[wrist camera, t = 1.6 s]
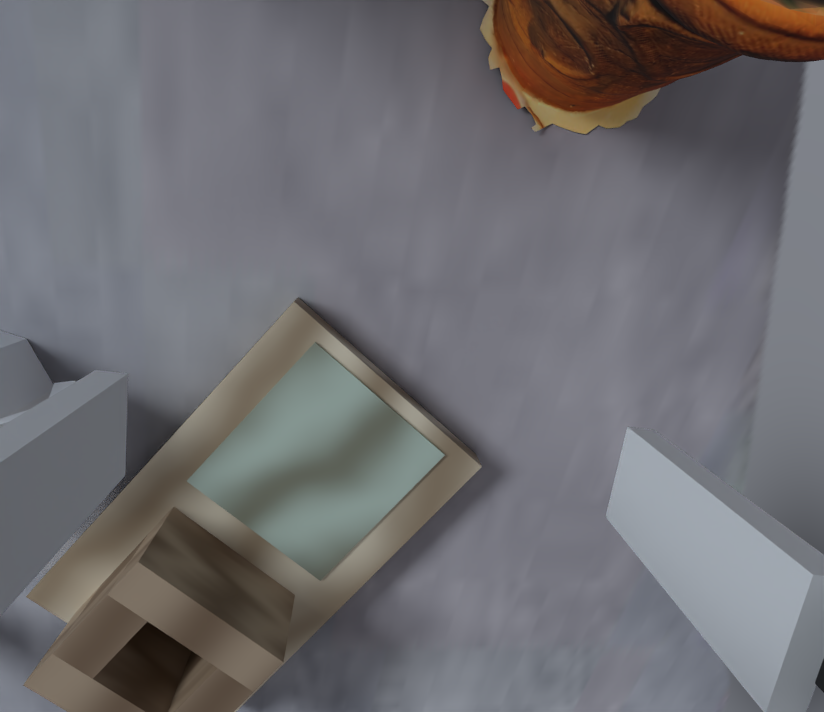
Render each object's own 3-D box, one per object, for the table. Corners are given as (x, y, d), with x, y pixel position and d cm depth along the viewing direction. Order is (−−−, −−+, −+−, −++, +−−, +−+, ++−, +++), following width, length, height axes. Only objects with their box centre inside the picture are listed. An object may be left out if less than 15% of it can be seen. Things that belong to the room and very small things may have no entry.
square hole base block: (42, 577, 39) (-37, 668, 31) (298, 297, 36) (281, 319, 28) (230, 700, 42) (201, 808, 34) (475, 454, 39) (504, 512, 32)
